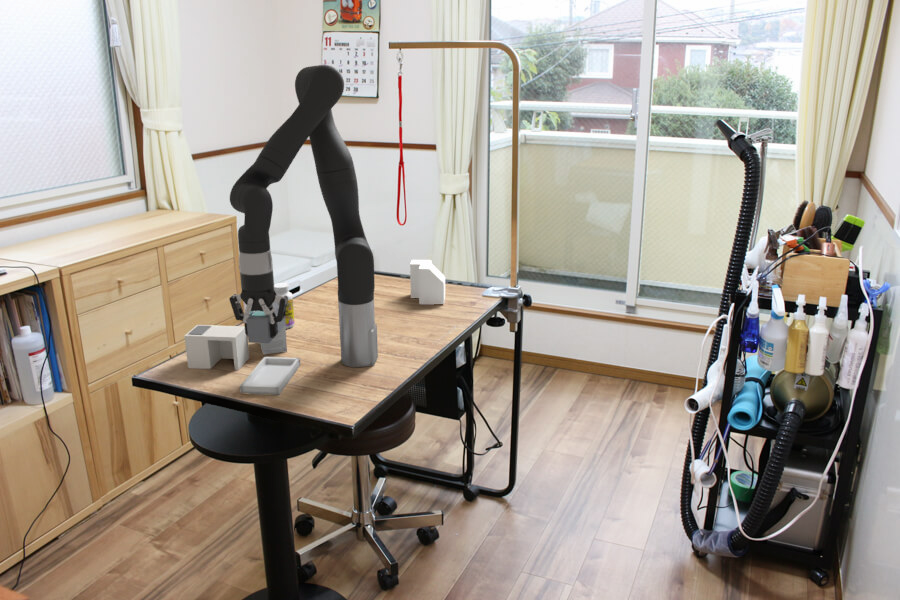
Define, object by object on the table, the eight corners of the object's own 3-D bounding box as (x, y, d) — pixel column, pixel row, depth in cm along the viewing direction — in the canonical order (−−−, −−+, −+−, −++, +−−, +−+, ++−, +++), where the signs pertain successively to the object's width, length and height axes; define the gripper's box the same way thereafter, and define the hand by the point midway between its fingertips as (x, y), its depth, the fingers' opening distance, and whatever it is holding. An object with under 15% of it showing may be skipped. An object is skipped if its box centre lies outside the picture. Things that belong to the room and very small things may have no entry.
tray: (300, 364, 195) (299, 357, 194) (279, 395, 178) (278, 387, 177) (265, 363, 196) (264, 356, 195) (240, 393, 179) (239, 385, 178)
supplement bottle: (274, 331, 218) (271, 289, 214) (270, 324, 224) (266, 283, 220) (297, 328, 221) (294, 286, 217) (292, 320, 227) (289, 280, 223)
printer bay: (249, 357, 200) (246, 325, 197) (238, 369, 192) (235, 336, 189) (200, 356, 201) (197, 324, 198) (188, 367, 193) (184, 334, 190)
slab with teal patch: (285, 324, 189) (284, 301, 187) (268, 343, 177) (267, 318, 175) (266, 323, 190) (264, 300, 188) (248, 342, 177) (246, 318, 175)
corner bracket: (412, 294, 252) (411, 259, 248) (445, 294, 251) (445, 260, 247) (409, 304, 242) (408, 268, 238) (443, 304, 241) (443, 269, 237)
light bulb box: (258, 341, 211) (255, 305, 208) (282, 338, 213) (279, 302, 210) (263, 355, 201) (259, 317, 198) (288, 351, 204) (285, 314, 200)
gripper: (291, 265, 177) (295, 332, 182) (232, 263, 178) (238, 330, 183) (281, 274, 170) (286, 343, 175) (220, 272, 171) (227, 341, 176)
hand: (261, 336), depth 179 cm, fingers closed on slab with teal patch, 5 cm apart
